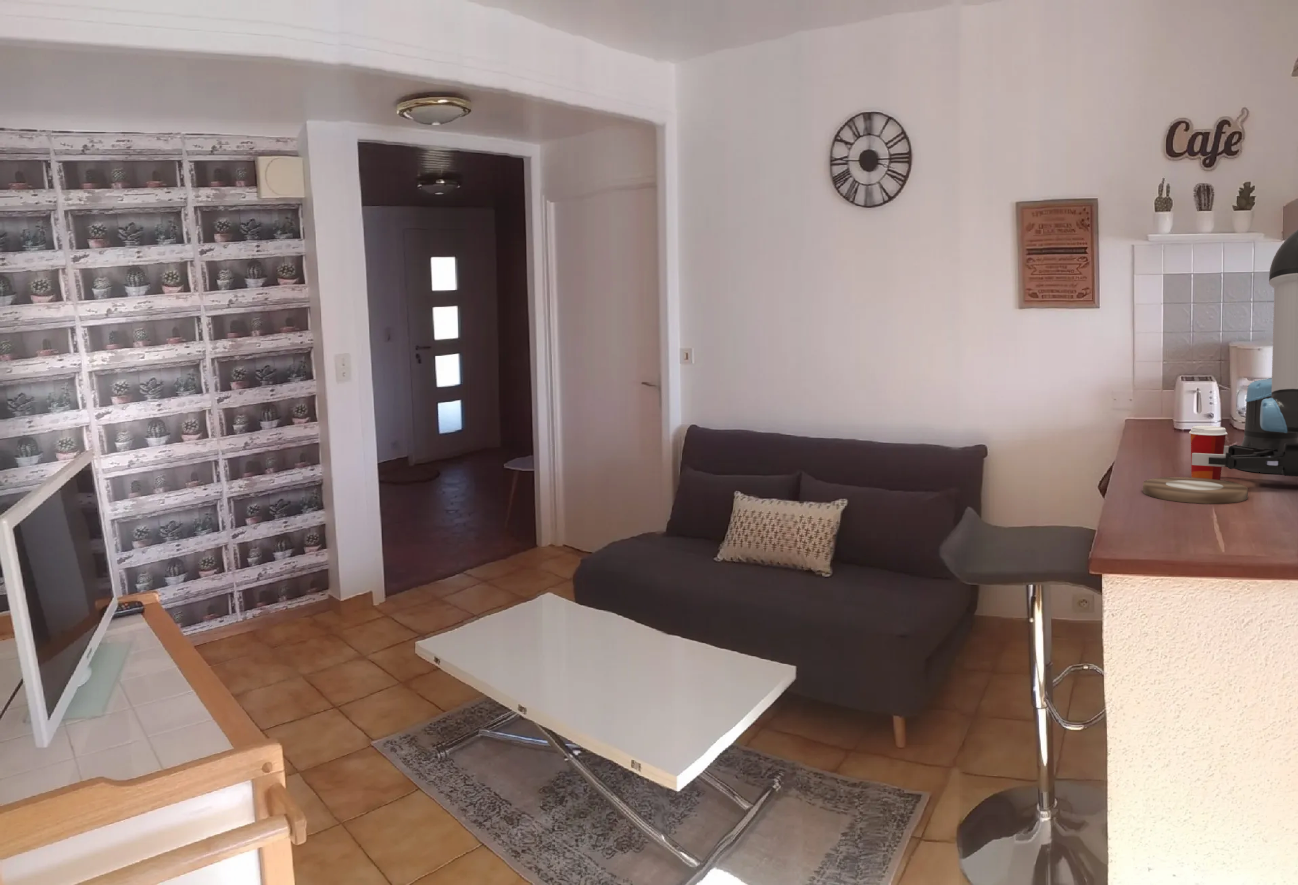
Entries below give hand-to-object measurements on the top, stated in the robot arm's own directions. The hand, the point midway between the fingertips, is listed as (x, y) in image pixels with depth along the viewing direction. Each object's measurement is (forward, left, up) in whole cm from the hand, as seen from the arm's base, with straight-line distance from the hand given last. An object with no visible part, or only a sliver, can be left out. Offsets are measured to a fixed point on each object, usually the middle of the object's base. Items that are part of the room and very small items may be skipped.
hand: (1194, 454), depth 217 cm
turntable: (+17, +1, -6) cm, 18 cm away
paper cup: (0, +2, -8) cm, 8 cm away
